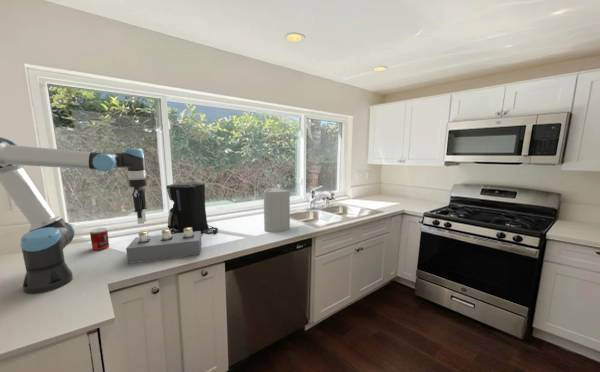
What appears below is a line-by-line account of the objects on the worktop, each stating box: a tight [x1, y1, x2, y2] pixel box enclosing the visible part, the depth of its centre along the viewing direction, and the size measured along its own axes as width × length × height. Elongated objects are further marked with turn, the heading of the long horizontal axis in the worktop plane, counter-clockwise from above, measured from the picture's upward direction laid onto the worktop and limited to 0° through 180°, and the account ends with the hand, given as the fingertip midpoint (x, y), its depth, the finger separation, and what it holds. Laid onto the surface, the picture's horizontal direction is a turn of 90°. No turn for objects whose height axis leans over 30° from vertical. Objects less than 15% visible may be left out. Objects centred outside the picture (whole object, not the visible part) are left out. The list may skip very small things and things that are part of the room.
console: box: [125, 231, 202, 264], centre depth 138 cm, size 16×34×8 cm, turn 108°
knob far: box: [184, 227, 193, 239], centre depth 141 cm, size 4×4×8 cm
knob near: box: [137, 230, 149, 243], centre depth 134 cm, size 4×4×8 cm
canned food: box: [89, 227, 110, 252], centre depth 144 cm, size 8×8×11 cm
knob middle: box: [161, 228, 172, 241], centre depth 137 cm, size 4×4×8 cm
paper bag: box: [263, 187, 291, 233], centre depth 176 cm, size 19×15×28 cm
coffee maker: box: [166, 181, 218, 235], centre depth 172 cm, size 23×32×34 cm
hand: (142, 222), depth 132 cm, fingers open, 3 cm apart
